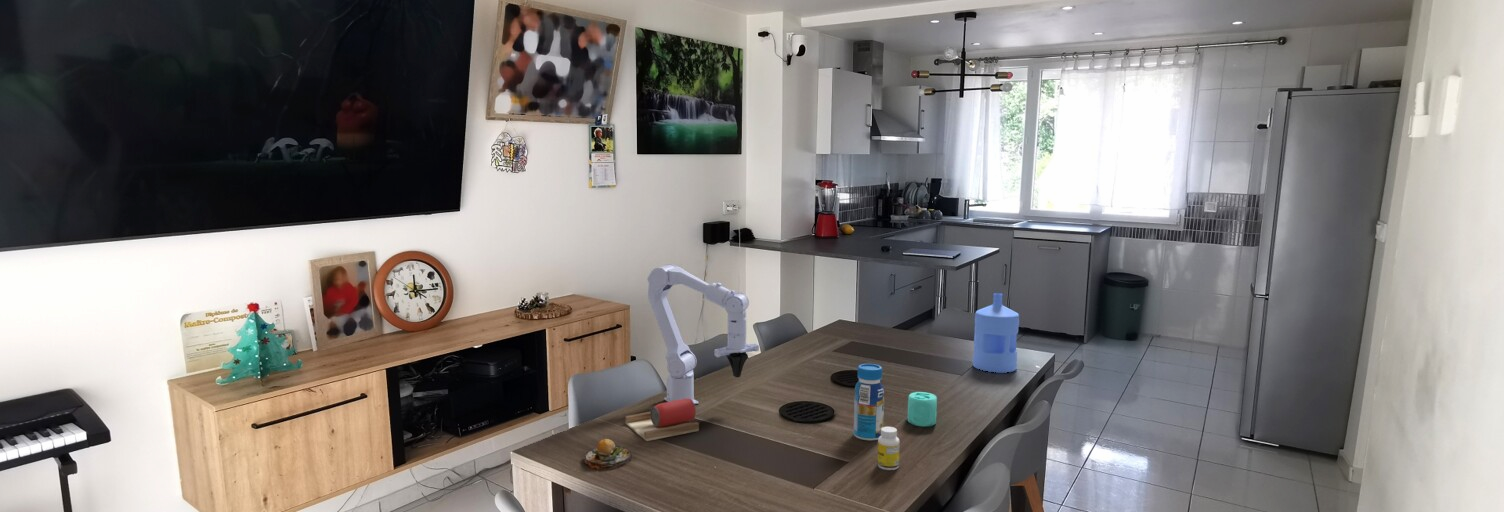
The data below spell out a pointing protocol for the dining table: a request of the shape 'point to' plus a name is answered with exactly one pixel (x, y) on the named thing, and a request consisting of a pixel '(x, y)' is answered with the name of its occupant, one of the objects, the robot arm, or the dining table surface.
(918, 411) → the turquoise short cylinder
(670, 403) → the beer can
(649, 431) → the birch tray
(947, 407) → the dining table surface
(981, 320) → the water jug
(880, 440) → the supplement bottle
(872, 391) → the beverage bottle
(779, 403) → the dining table surface
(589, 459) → the food on plate
